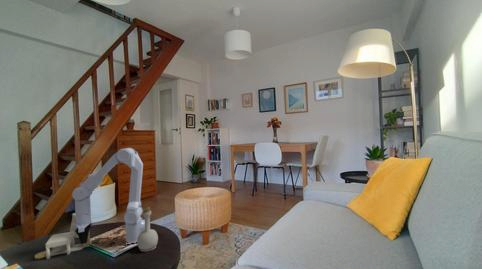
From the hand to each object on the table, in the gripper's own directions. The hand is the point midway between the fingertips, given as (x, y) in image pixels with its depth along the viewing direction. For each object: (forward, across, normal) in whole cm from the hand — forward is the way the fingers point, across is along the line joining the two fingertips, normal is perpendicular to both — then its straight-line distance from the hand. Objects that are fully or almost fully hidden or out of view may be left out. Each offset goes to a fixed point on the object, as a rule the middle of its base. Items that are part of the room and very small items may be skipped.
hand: (84, 242), depth 104 cm
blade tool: (+2, 0, -5) cm, 5 cm away
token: (+2, 0, -15) cm, 15 cm away
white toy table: (+2, 0, -8) cm, 9 cm away
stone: (+2, -16, -4) cm, 17 cm away
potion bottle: (+2, +17, +26) cm, 31 cm away
